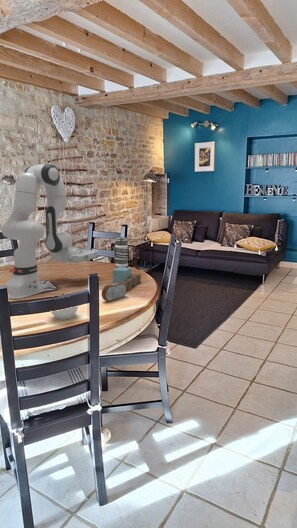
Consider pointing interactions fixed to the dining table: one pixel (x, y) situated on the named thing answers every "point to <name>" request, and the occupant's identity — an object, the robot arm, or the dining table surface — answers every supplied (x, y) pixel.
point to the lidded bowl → (64, 311)
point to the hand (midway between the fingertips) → (96, 257)
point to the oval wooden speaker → (114, 291)
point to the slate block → (121, 274)
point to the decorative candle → (121, 252)
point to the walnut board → (132, 281)
